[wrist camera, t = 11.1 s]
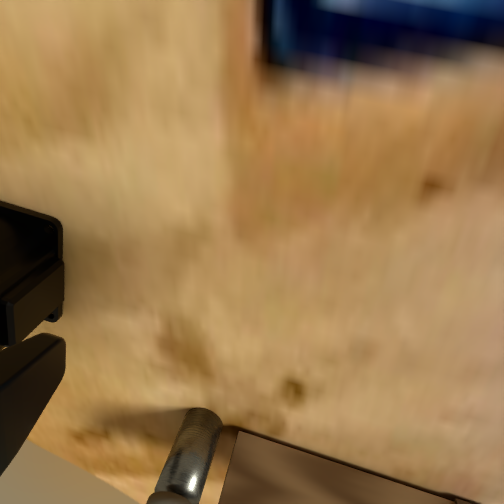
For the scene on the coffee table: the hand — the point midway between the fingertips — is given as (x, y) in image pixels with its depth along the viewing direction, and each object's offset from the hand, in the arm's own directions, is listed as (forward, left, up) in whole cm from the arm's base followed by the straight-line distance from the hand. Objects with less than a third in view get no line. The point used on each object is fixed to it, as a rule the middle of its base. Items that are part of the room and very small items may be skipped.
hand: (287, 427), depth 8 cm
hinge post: (-3, -16, -12) cm, 20 cm away
